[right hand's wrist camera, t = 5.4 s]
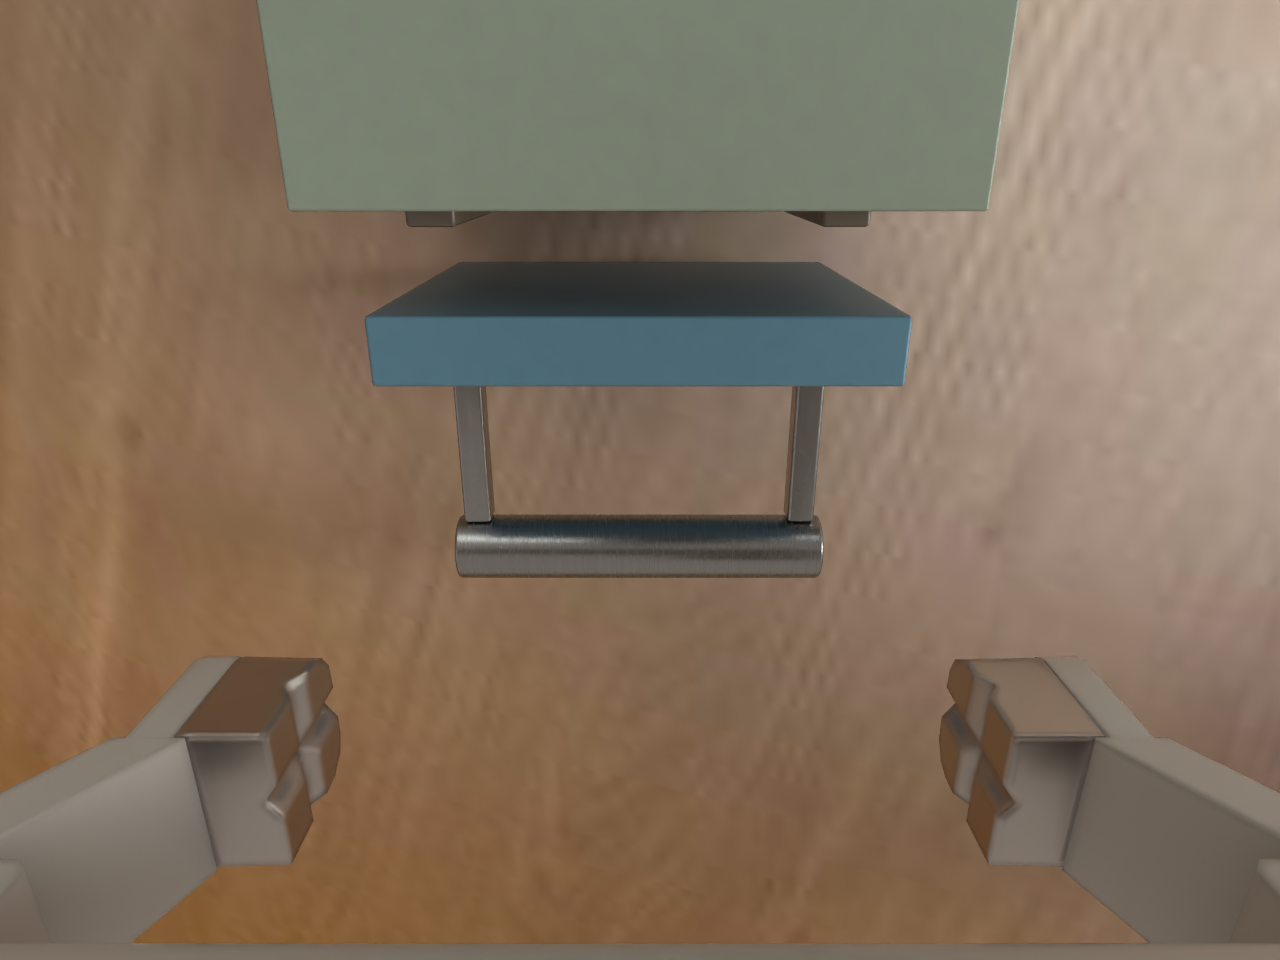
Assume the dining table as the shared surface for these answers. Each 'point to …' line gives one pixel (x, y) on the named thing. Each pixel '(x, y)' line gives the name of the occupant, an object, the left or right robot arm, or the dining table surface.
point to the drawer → (638, 356)
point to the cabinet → (637, 103)
